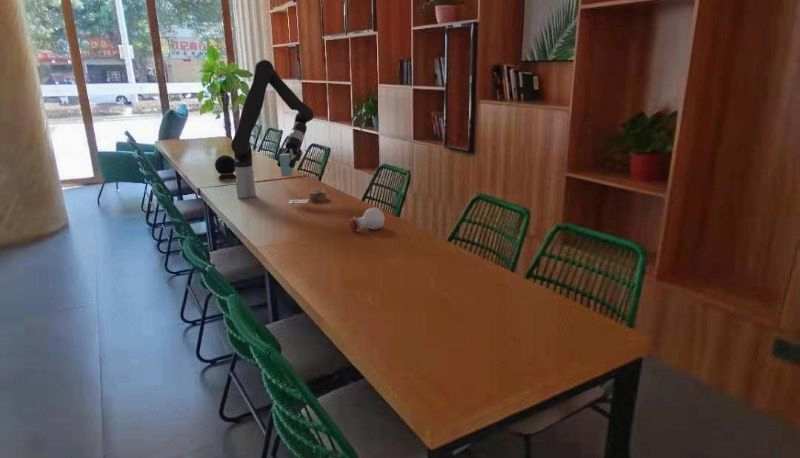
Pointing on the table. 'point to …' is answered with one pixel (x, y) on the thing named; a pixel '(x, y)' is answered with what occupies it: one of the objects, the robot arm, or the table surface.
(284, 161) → the teal brick
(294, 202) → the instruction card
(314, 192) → the walnut base brick
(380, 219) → the potion bottle
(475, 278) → the table surface
